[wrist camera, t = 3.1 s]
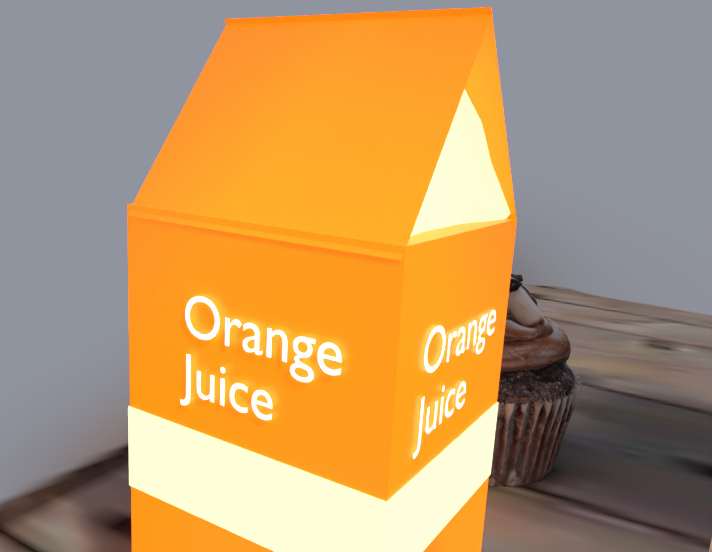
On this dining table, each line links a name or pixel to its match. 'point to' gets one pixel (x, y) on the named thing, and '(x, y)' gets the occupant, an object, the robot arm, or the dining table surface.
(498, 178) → the orange juice
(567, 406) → the cupcake
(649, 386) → the dining table surface
